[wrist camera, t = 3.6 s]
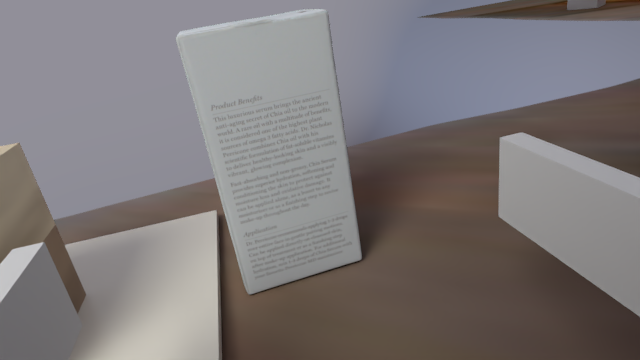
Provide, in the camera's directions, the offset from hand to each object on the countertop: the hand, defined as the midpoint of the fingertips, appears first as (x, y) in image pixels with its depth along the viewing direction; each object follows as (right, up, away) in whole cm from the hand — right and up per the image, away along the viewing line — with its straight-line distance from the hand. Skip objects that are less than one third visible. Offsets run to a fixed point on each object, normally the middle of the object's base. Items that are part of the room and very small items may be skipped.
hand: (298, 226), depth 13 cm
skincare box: (-1, -3, +10) cm, 11 cm away
